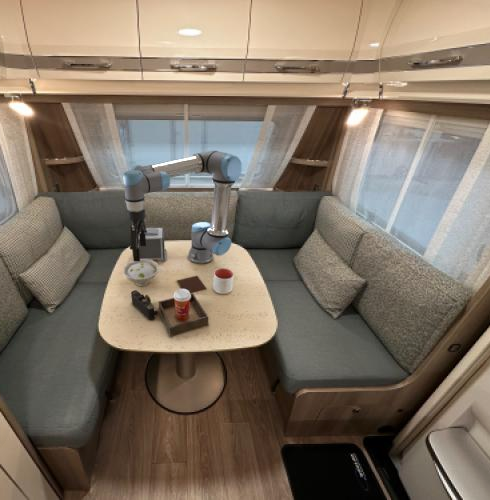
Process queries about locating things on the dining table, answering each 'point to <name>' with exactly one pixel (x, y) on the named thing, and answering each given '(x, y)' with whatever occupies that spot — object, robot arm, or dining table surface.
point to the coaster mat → (191, 284)
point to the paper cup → (182, 304)
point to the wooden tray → (186, 325)
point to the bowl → (141, 271)
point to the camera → (143, 305)
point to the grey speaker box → (153, 245)
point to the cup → (223, 280)
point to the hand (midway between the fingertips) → (140, 252)
